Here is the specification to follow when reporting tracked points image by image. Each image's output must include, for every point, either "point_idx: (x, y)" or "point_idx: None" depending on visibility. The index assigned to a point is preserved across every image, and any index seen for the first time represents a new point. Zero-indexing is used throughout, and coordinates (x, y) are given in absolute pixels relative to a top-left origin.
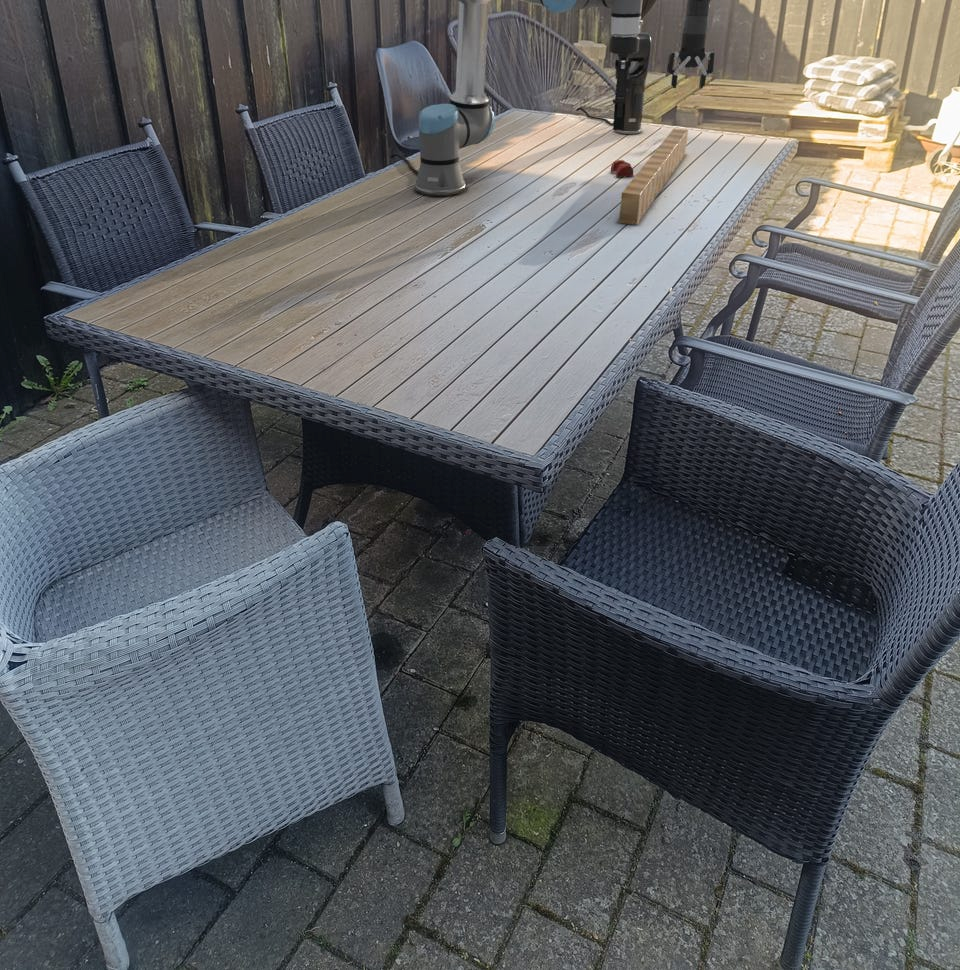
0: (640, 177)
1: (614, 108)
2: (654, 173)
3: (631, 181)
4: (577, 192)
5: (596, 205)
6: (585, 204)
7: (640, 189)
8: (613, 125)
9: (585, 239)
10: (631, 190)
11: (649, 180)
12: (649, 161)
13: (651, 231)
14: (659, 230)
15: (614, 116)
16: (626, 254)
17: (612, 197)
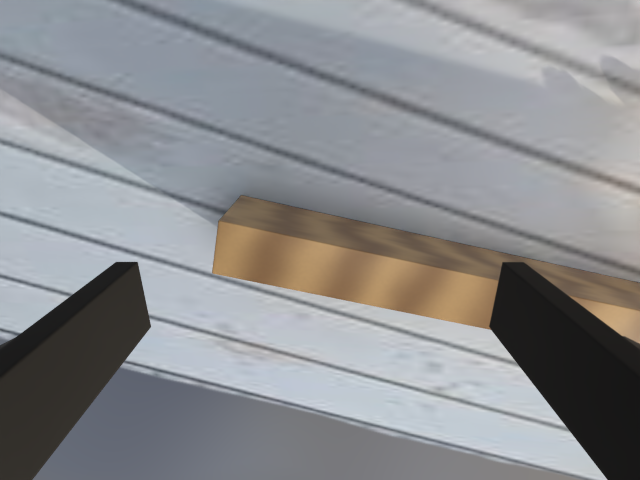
0: (400, 278)
1: (547, 301)
2: (447, 318)
3: (351, 251)
4: (527, 57)
5: (388, 128)
6: (396, 92)
7: (265, 276)
8: (101, 276)
9: (81, 105)
10: (249, 250)
11: (368, 302)
12: (592, 308)
13: (197, 270)
14: (209, 287)
15: (46, 317)
16: (17, 213)
17: (468, 175)
